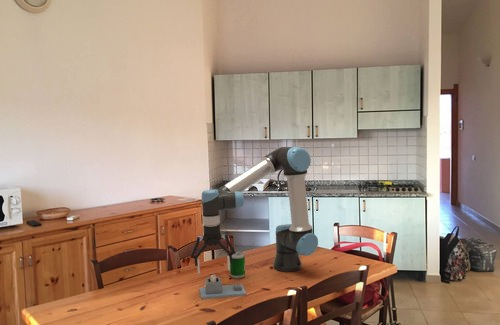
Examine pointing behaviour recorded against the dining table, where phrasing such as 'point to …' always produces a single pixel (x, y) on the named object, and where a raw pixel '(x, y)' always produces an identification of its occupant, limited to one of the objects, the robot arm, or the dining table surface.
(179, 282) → the dining table surface
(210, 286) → the grey tapered block
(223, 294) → the keeper
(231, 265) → the soda can
